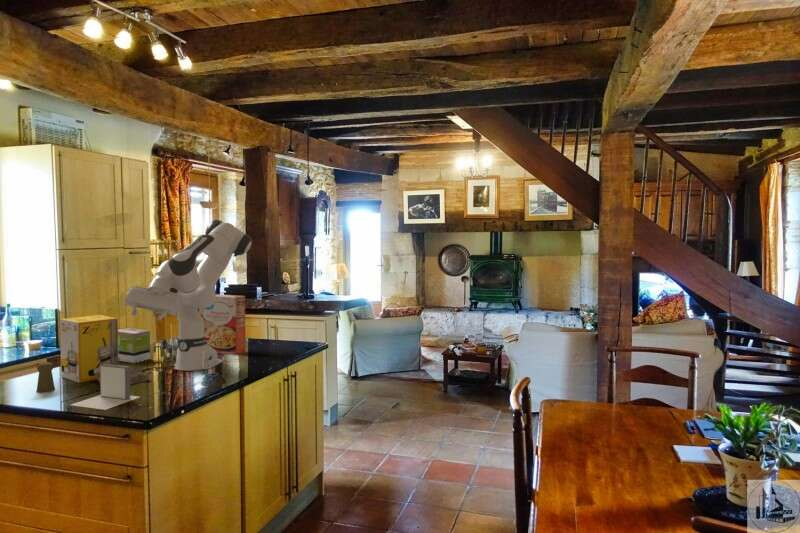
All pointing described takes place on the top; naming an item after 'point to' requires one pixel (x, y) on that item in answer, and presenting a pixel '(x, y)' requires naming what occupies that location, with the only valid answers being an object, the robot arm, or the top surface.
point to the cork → (45, 378)
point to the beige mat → (102, 402)
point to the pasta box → (225, 324)
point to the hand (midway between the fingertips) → (146, 316)
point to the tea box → (133, 345)
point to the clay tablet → (135, 377)
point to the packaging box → (87, 346)
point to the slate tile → (115, 381)
